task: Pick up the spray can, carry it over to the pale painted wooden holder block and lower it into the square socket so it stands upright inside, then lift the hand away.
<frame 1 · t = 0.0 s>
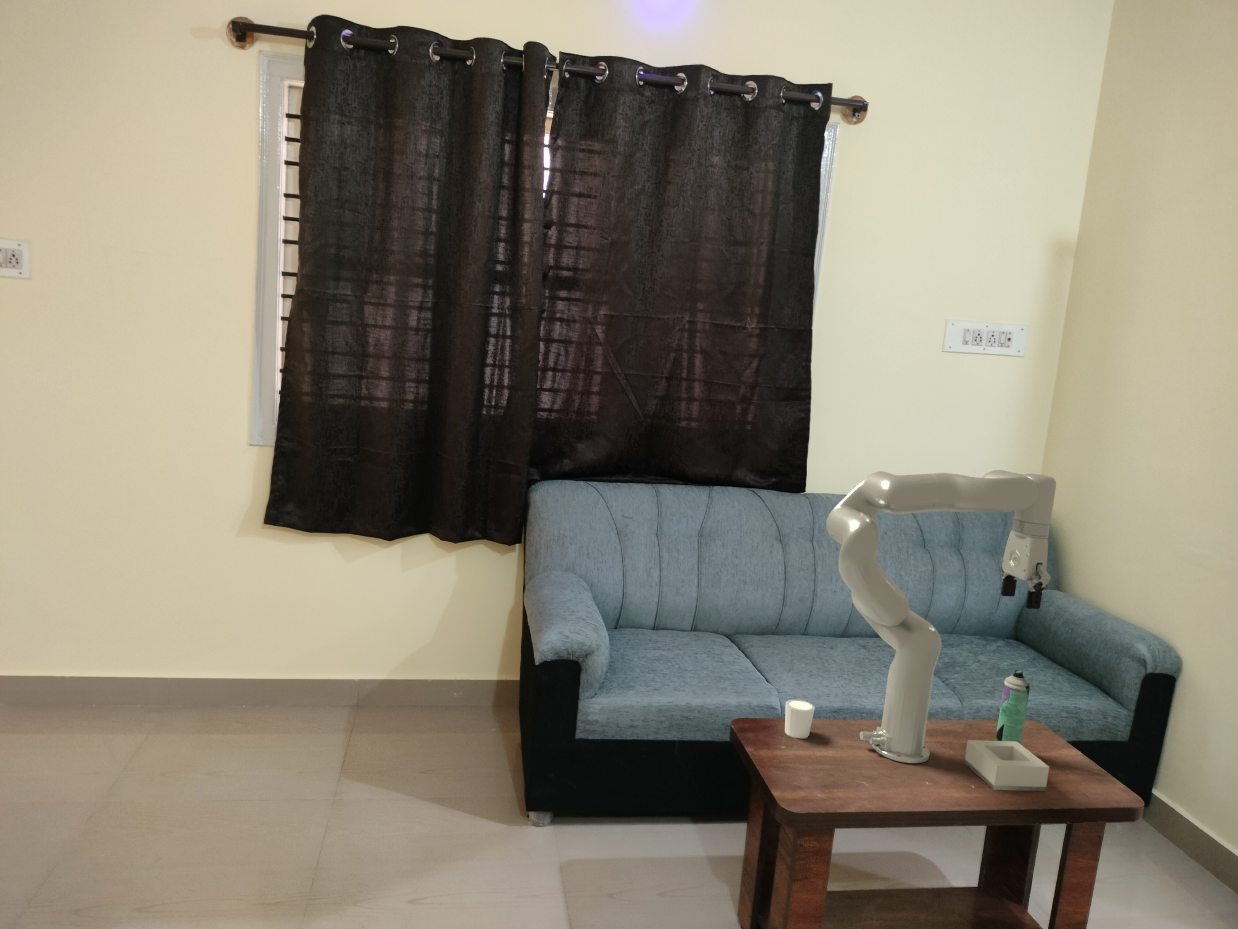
hand: (1019, 602, 196), 37 cm above the table, tool pointing down, fingers open, 9 cm apart
white cup: (796, 734, 202), on the table
can holder: (1003, 776, 189), on the table
spray can: (1006, 753, 202), on the table
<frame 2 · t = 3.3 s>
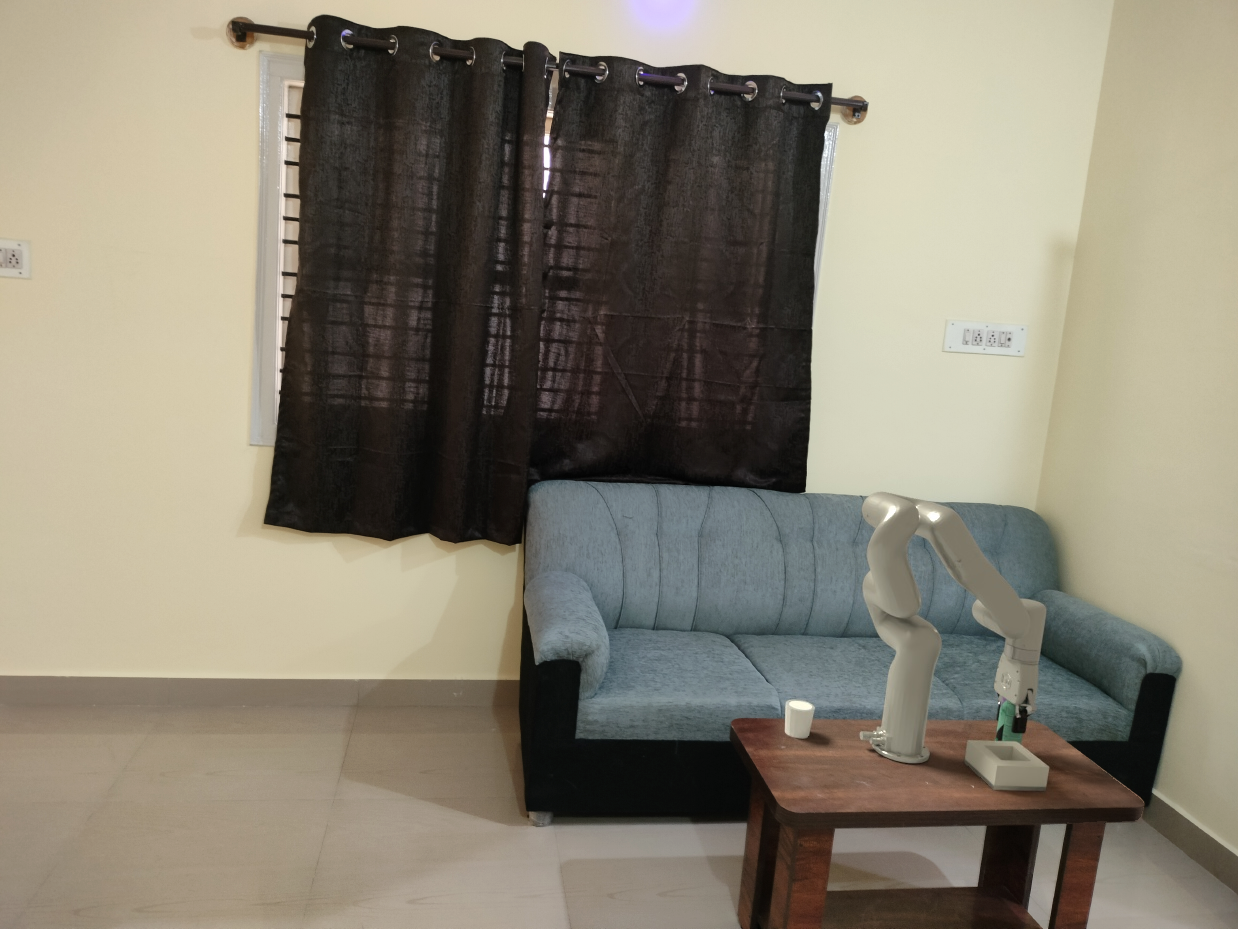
hand: (1010, 726, 201), 6 cm above the table, tool pointing down, fingers closed on spray can, 5 cm apart
spray can: (1006, 753, 202), on the table, touching gripper
everything else where it was.
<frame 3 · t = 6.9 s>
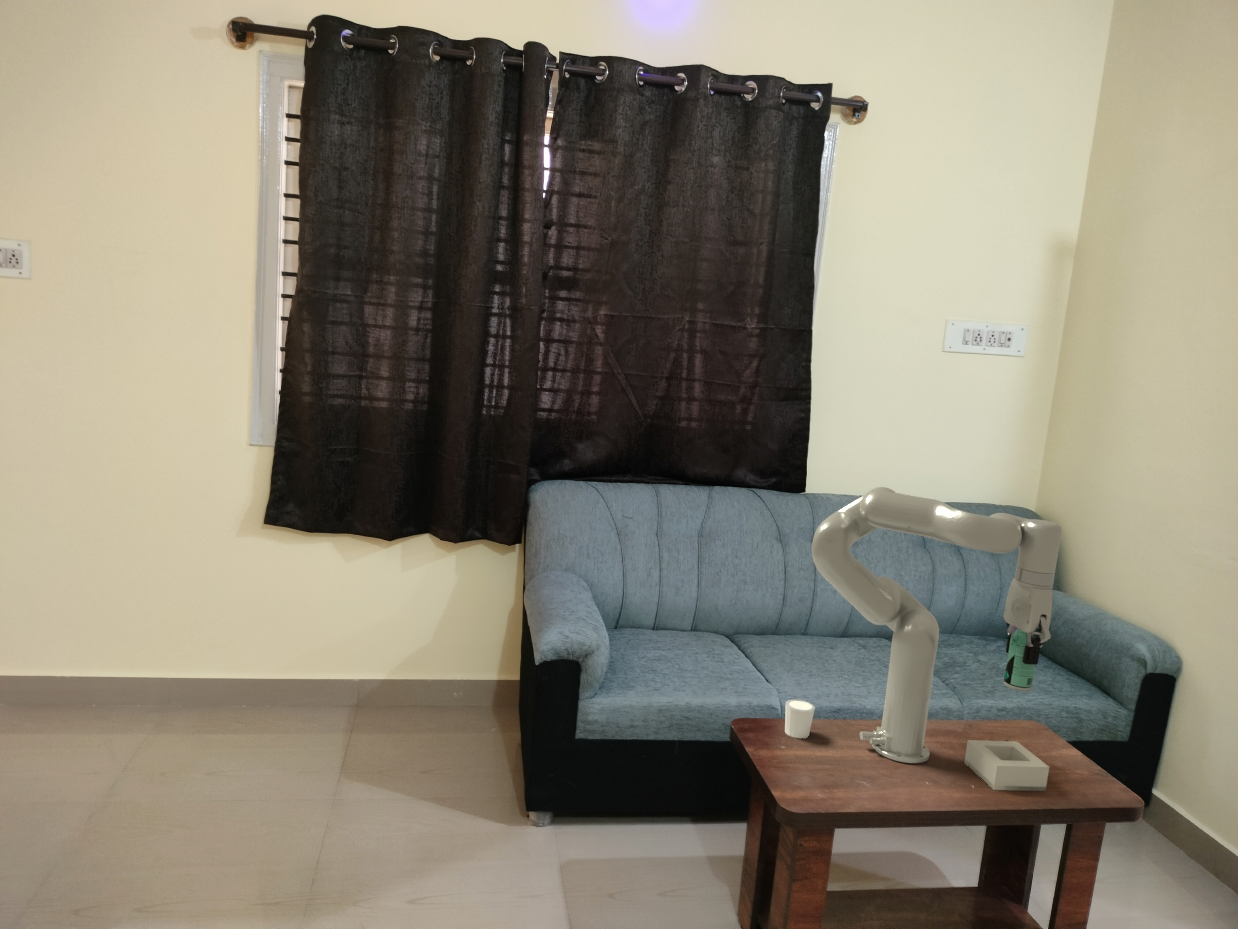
hand: (1021, 657, 186), 27 cm above the table, tool pointing down, fingers closed on spray can, 5 cm apart
spray can: (1017, 687, 186), point 21 cm above the table, touching gripper
everything else where it was.
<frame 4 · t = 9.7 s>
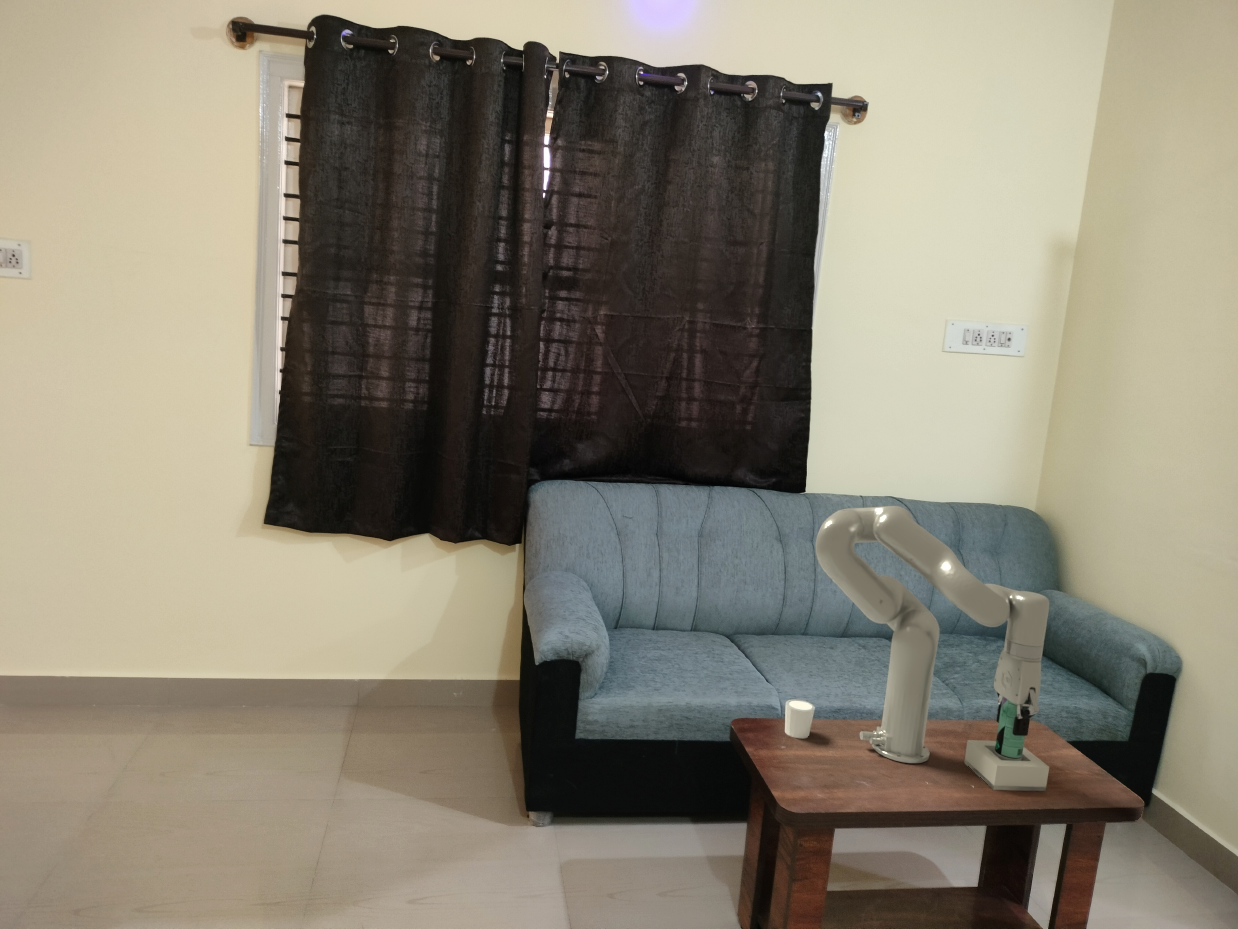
hand: (1011, 728, 187), 11 cm above the table, tool pointing down, fingers closed on spray can, 5 cm apart
spray can: (1007, 757, 188), point 5 cm above the table, touching gripper
everything else where it was.
when the fingers open (9 cm above the table, at t = 10.8 s): spray can drops 1 cm, resting on can holder.
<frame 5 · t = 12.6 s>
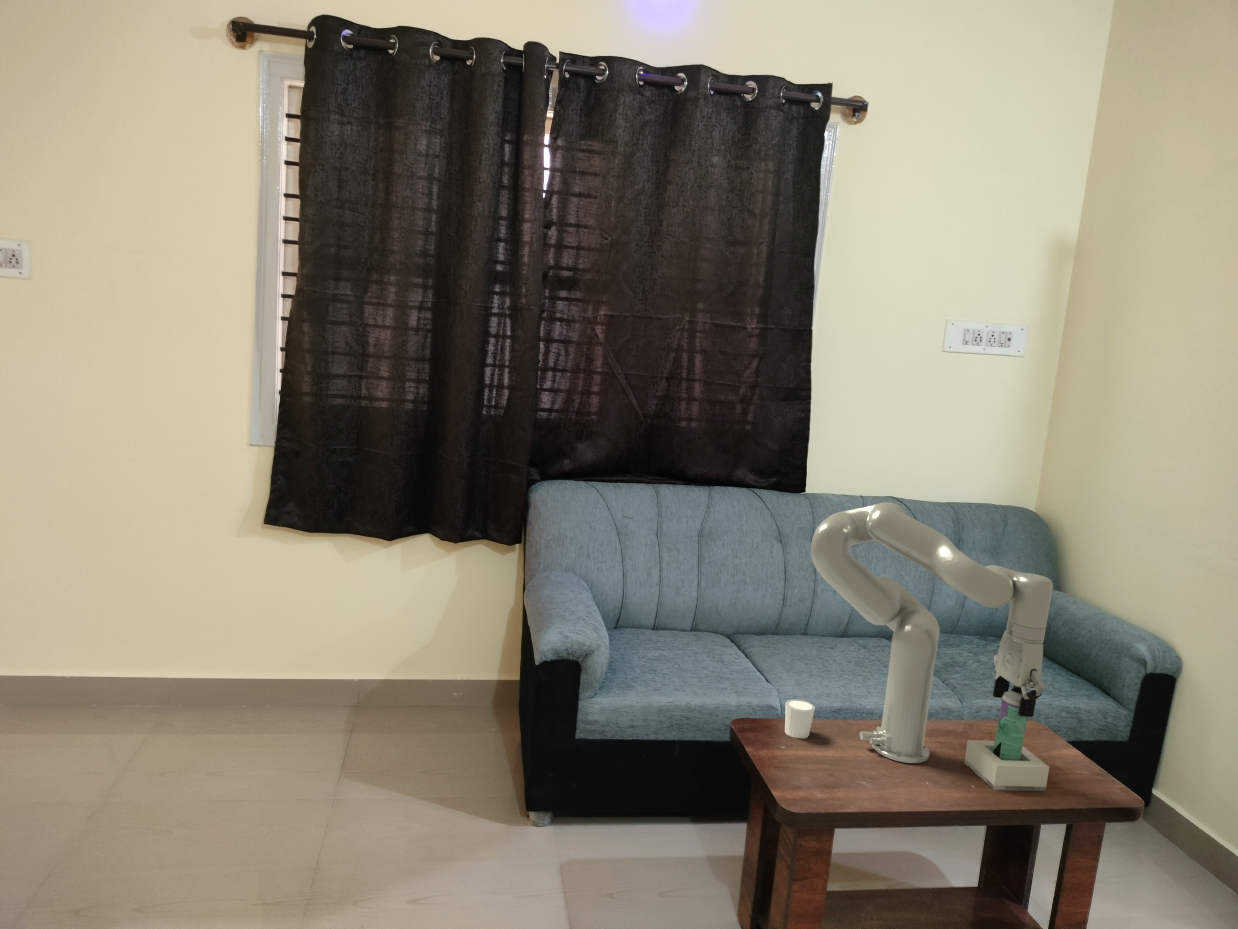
hand: (1012, 706, 187), 16 cm above the table, tool pointing down, fingers open, 9 cm apart
spray can: (1003, 772, 189), point 1 cm above the table, touching can holder
everything else where it was.
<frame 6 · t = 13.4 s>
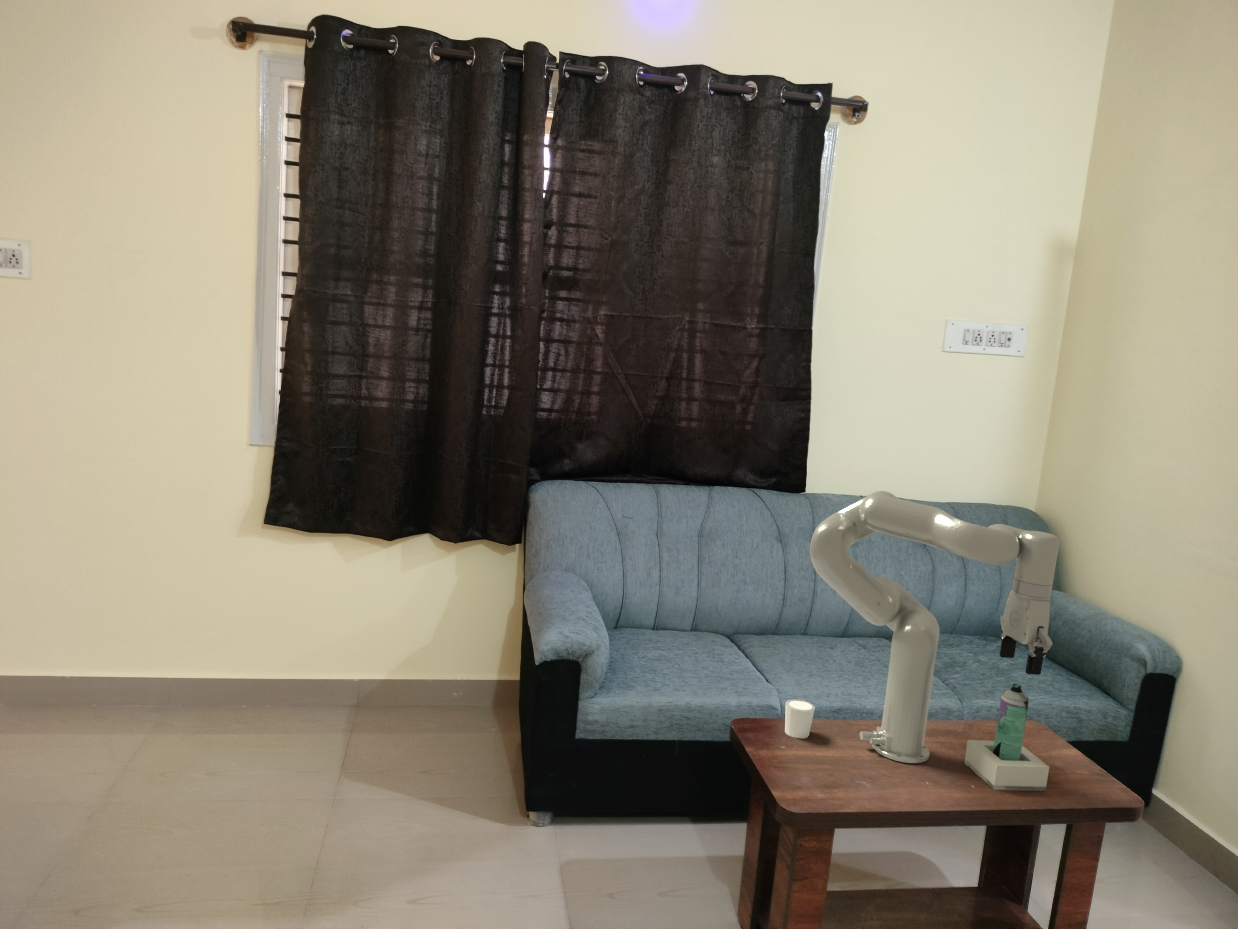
hand: (1019, 665, 186), 26 cm above the table, tool pointing down, fingers open, 9 cm apart
nothing on the table moved.
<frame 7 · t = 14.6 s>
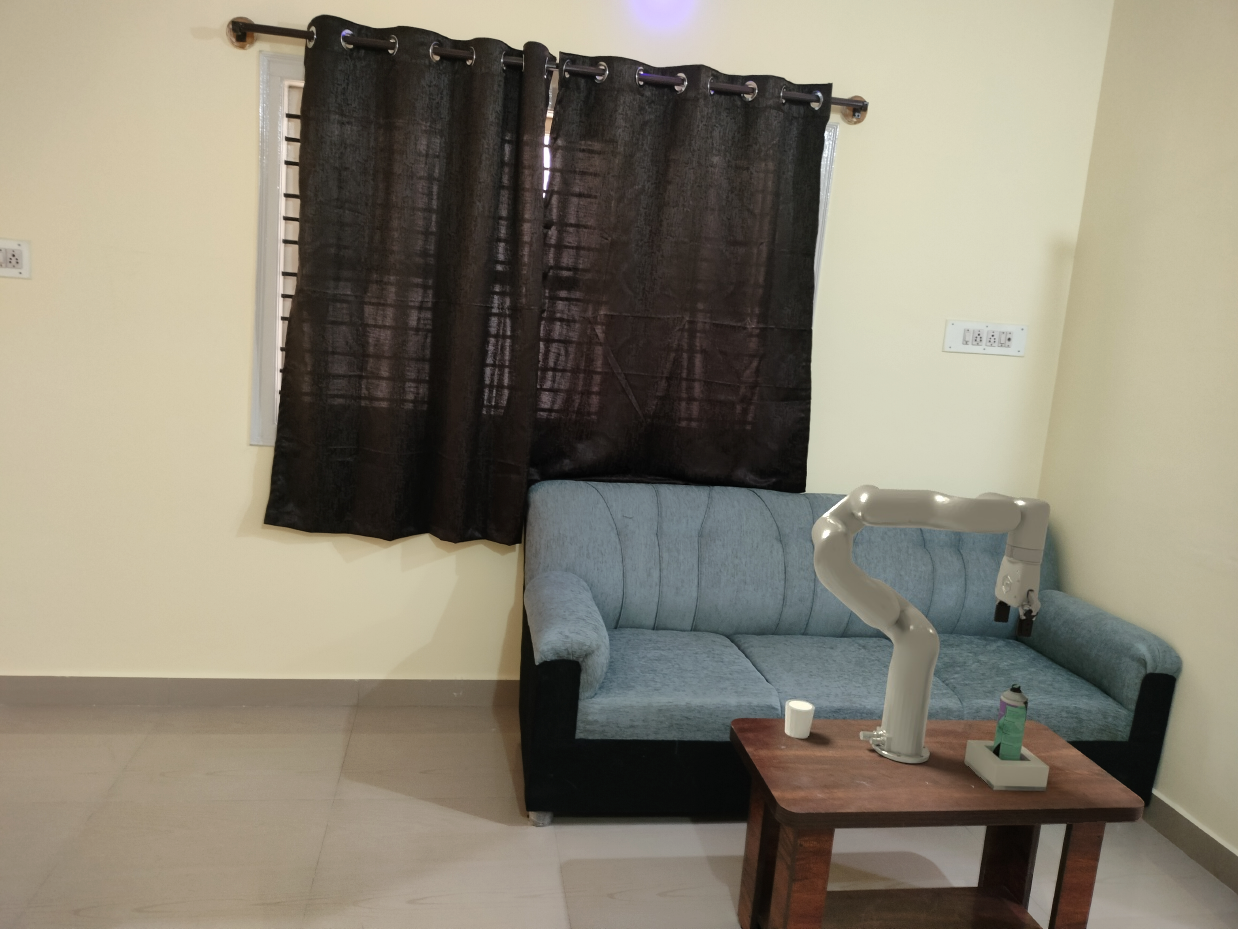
hand: (1011, 628, 191), 32 cm above the table, tool pointing down, fingers open, 9 cm apart
nothing on the table moved.
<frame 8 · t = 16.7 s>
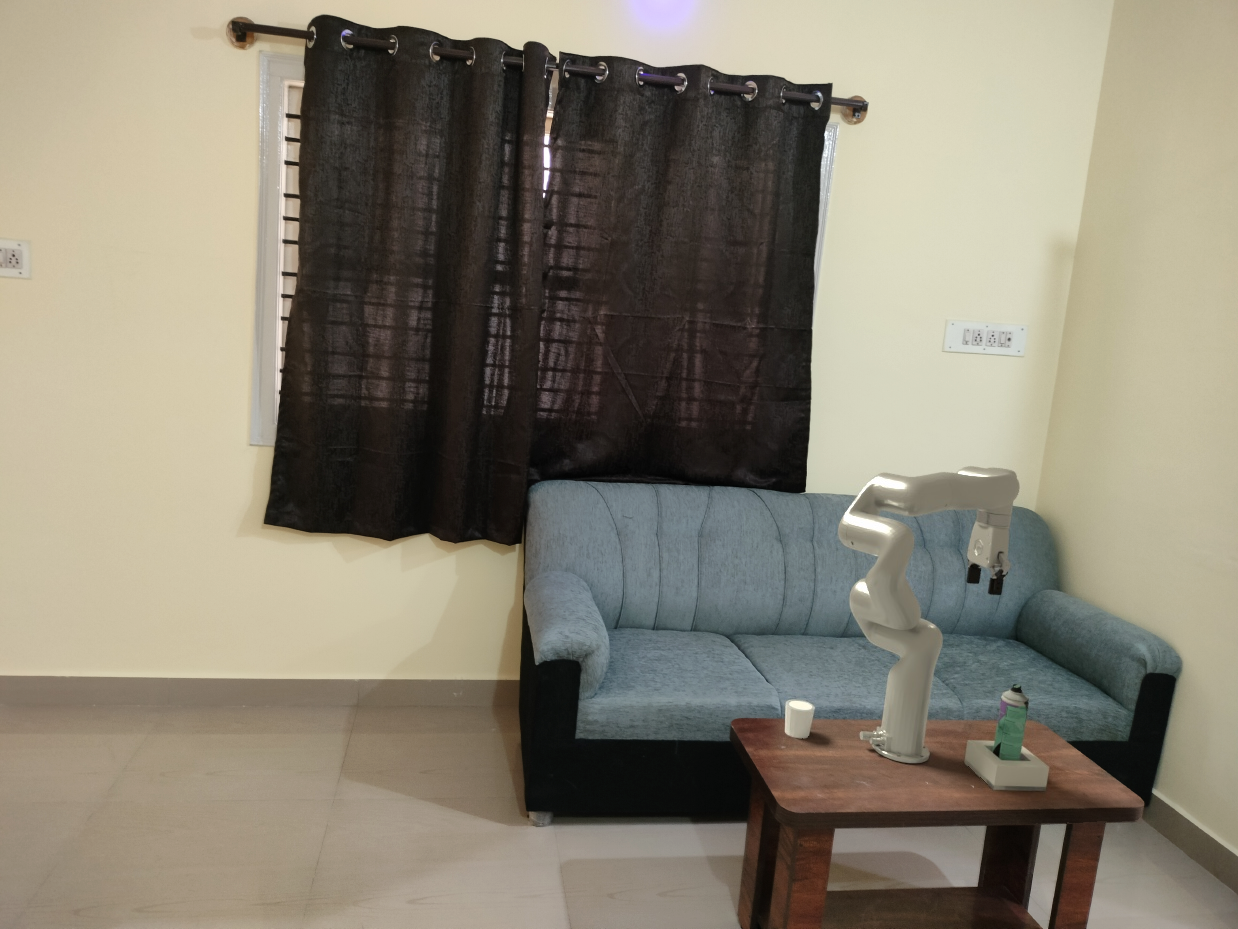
hand: (983, 588, 207), 36 cm above the table, tool pointing down, fingers open, 9 cm apart
nothing on the table moved.
at the end: spray can 0.1 cm from the can holder (horizontally); spray can point 0.8 cm above the table; spray can tilted 0° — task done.
